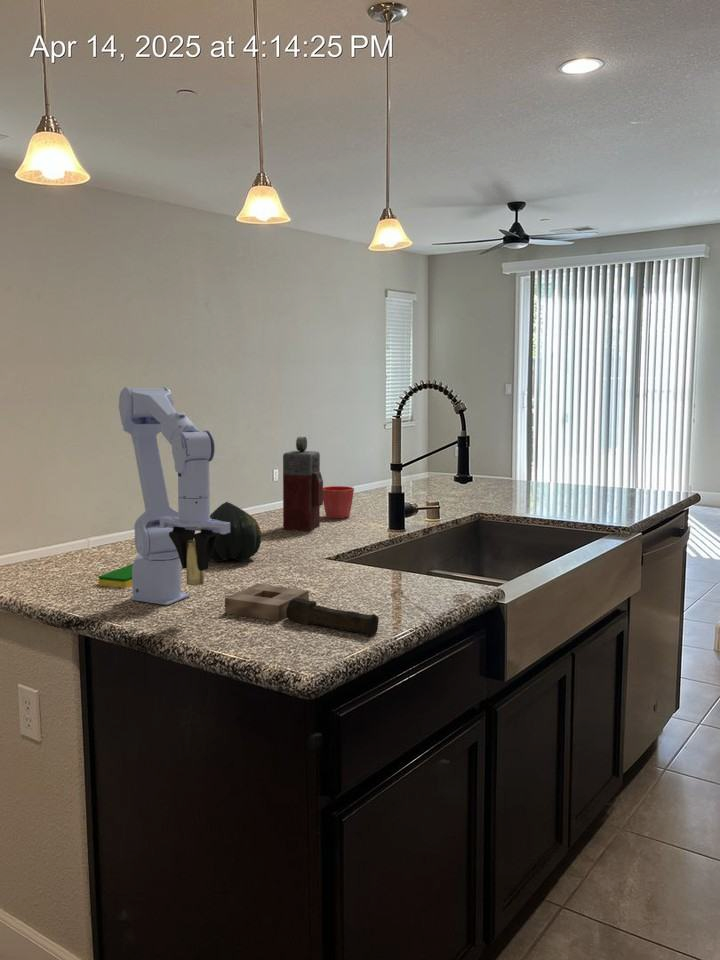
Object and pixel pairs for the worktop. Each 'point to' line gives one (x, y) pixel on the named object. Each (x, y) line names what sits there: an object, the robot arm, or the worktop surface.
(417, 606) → the worktop surface
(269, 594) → the socket block
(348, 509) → the flower pot
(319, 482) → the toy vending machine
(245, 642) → the worktop surface
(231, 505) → the squash
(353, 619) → the hand tool
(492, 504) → the worktop surface
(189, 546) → the brass peg
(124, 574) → the dish sponge
